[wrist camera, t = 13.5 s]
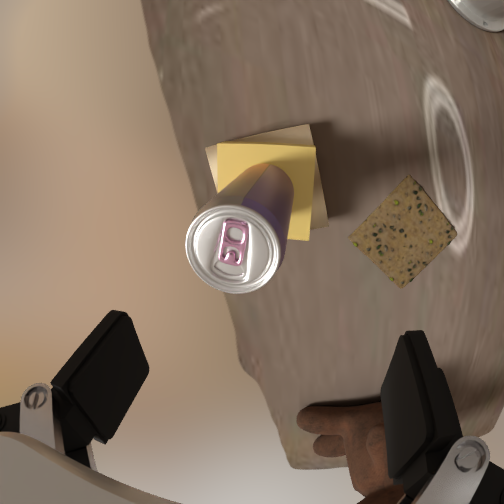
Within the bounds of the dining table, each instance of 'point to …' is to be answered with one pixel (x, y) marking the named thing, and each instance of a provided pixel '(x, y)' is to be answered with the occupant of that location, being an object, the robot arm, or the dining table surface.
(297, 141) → the tower base
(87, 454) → the robot arm
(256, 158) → the tower top
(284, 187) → the beverage can
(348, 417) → the stuffed bear
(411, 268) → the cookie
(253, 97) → the dining table surface
